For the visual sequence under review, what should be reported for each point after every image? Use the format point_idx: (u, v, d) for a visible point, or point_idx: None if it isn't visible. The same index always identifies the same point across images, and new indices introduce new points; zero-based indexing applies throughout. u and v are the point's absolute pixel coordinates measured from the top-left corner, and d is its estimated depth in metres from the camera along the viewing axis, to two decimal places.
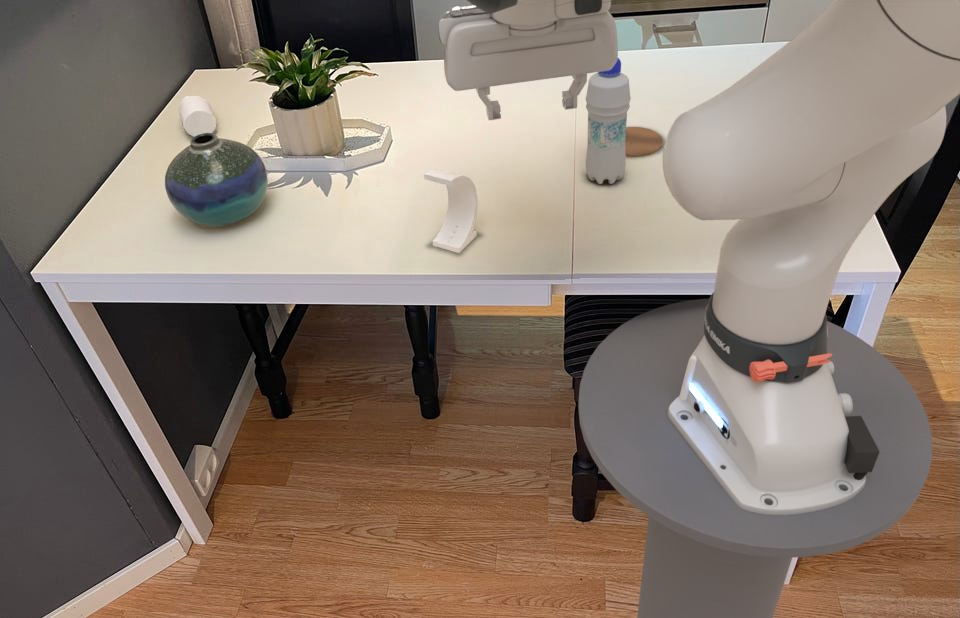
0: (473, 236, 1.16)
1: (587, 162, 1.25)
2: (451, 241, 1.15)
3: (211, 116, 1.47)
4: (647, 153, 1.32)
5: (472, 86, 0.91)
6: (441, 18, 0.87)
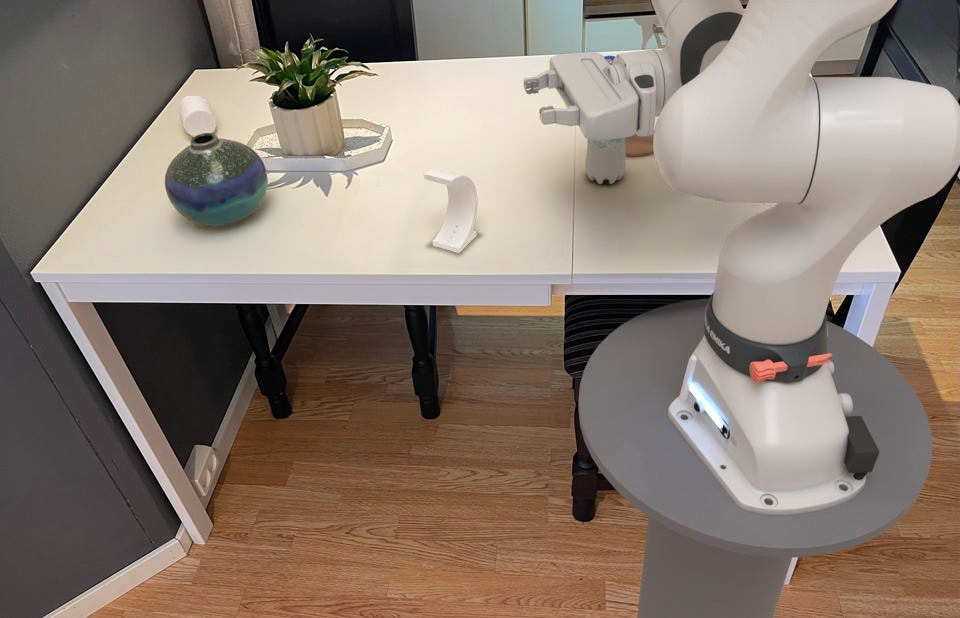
0: (473, 236, 1.16)
1: (587, 162, 1.25)
2: (451, 241, 1.15)
3: (211, 116, 1.47)
4: (647, 153, 1.32)
5: (555, 62, 1.10)
6: None
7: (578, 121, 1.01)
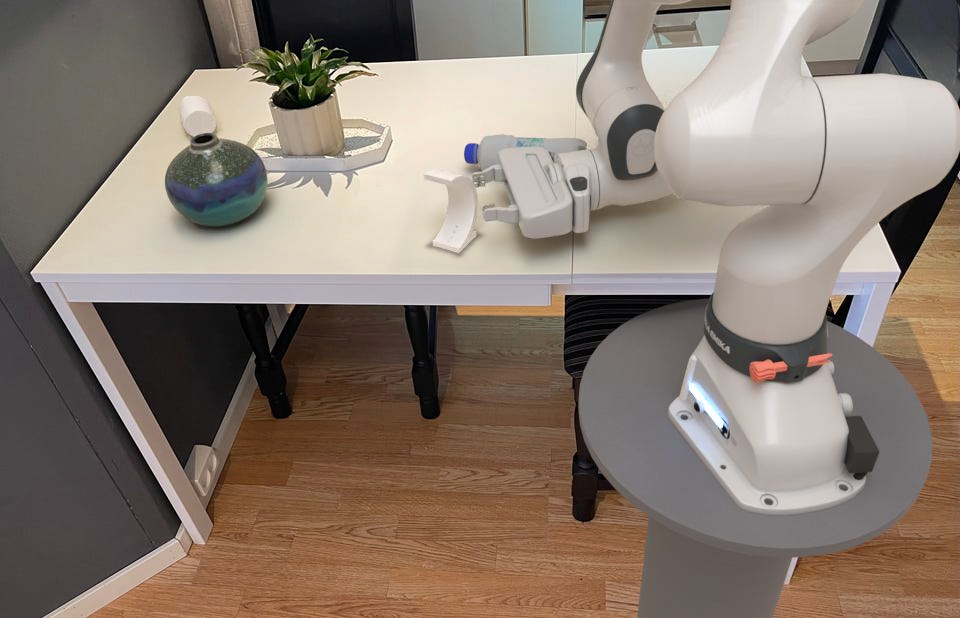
0: (473, 236, 1.16)
1: None
2: (451, 241, 1.15)
3: (211, 116, 1.47)
4: None
5: (502, 157, 1.18)
6: None
7: (518, 219, 1.09)
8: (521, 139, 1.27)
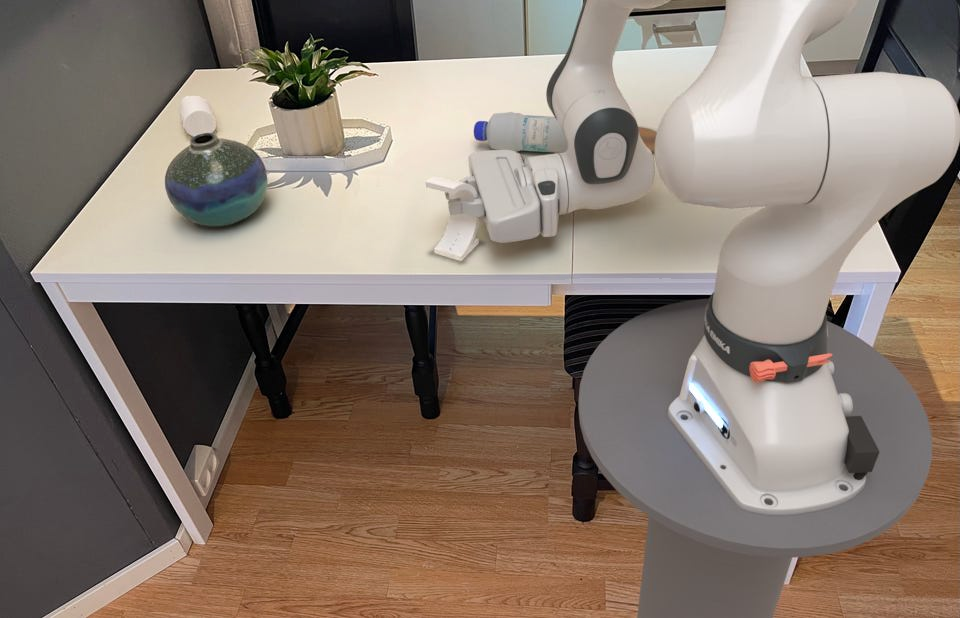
0: (475, 243, 1.15)
1: None
2: (453, 249, 1.13)
3: (211, 116, 1.47)
4: None
5: (473, 160, 1.18)
6: (519, 154, 1.21)
7: (482, 213, 1.11)
8: None
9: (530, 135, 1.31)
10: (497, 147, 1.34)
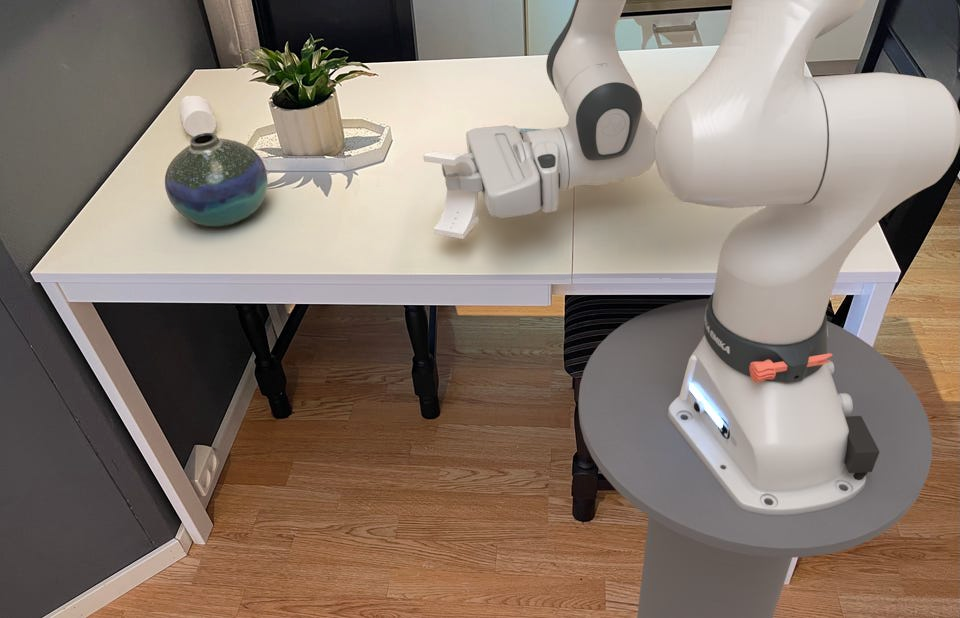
0: (475, 221, 1.11)
1: None
2: (453, 227, 1.10)
3: (211, 116, 1.47)
4: None
5: (470, 136, 1.15)
6: (518, 131, 1.19)
7: (480, 187, 1.08)
8: None
9: None
10: None
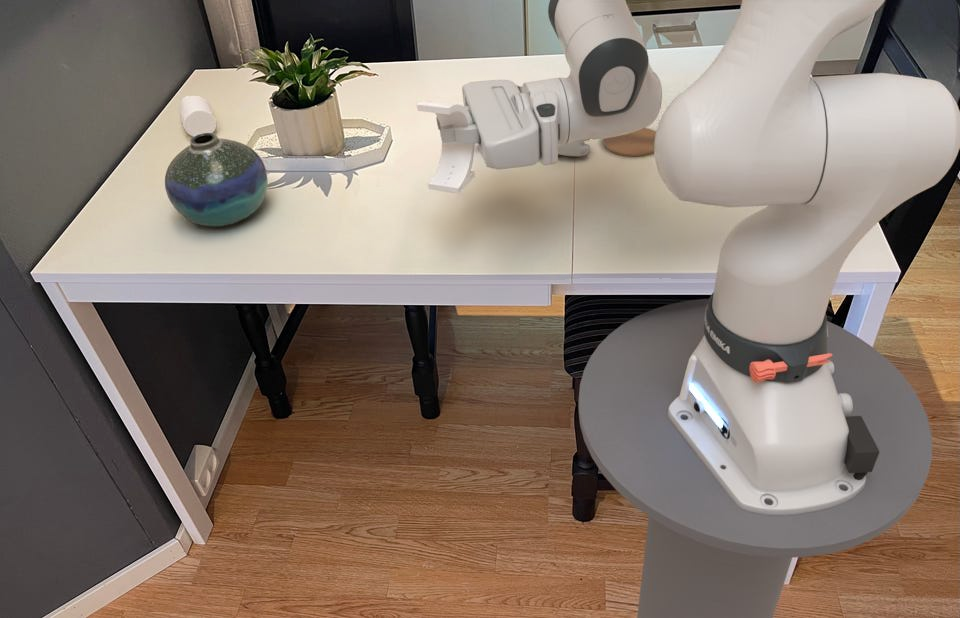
0: (471, 176, 1.07)
1: None
2: (449, 182, 1.05)
3: (211, 116, 1.47)
4: (647, 153, 1.32)
5: (467, 89, 1.10)
6: (516, 85, 1.14)
7: (477, 139, 1.03)
8: None
9: None
10: None
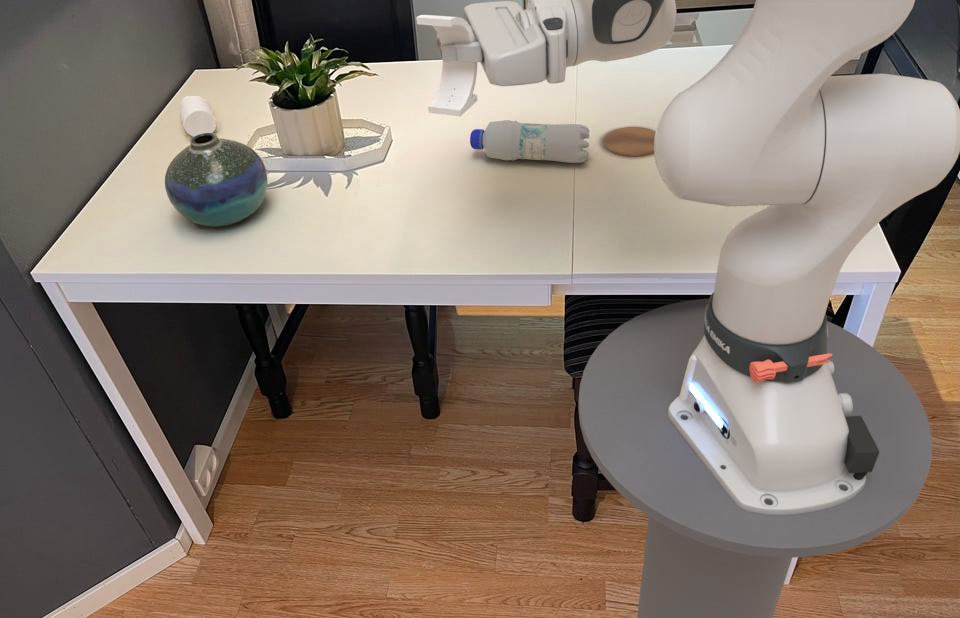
0: (474, 99, 1.01)
1: (566, 143, 1.28)
2: (450, 104, 0.99)
3: (211, 116, 1.47)
4: (647, 153, 1.32)
5: (469, 10, 1.04)
6: None
7: (480, 58, 0.97)
8: None
9: (528, 157, 1.31)
10: None
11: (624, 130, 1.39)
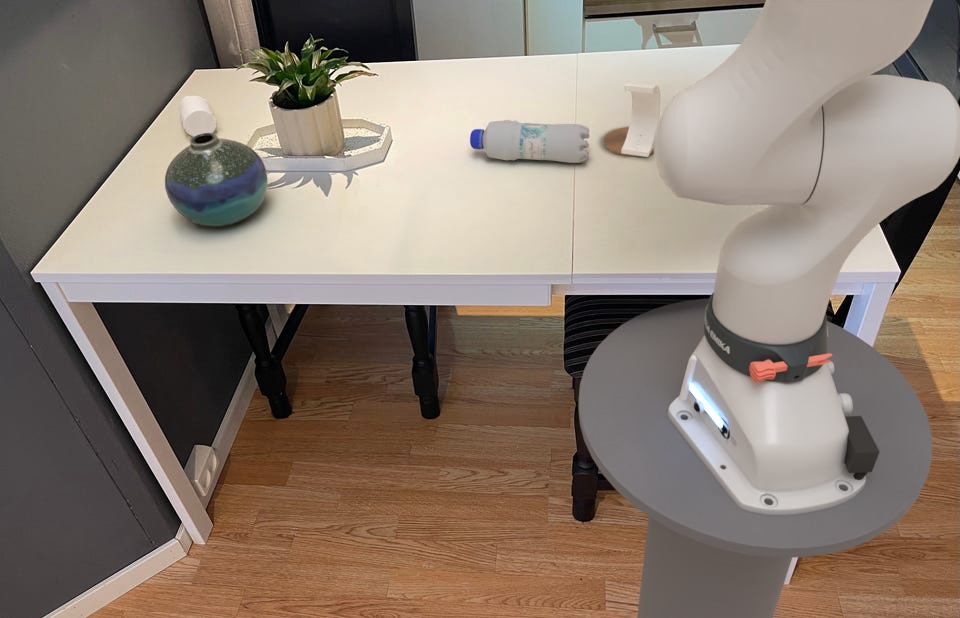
0: None
1: (566, 142, 1.28)
2: (639, 147, 1.32)
3: (211, 116, 1.47)
4: None
5: None
6: None
7: None
8: None
9: (528, 156, 1.31)
10: None
11: (624, 130, 1.39)
